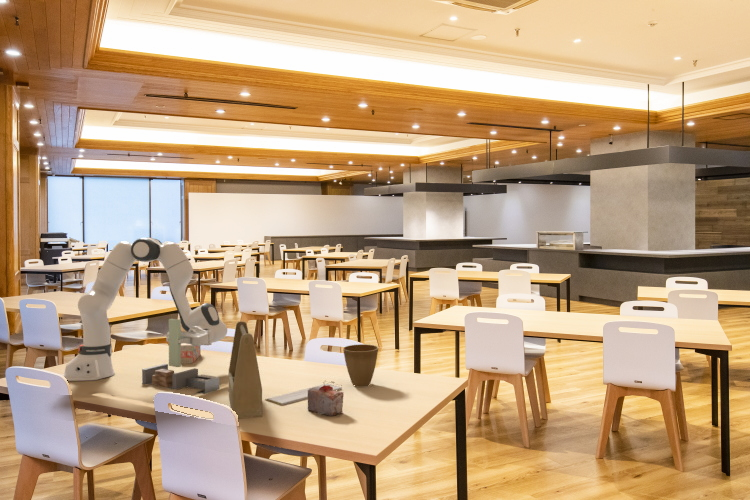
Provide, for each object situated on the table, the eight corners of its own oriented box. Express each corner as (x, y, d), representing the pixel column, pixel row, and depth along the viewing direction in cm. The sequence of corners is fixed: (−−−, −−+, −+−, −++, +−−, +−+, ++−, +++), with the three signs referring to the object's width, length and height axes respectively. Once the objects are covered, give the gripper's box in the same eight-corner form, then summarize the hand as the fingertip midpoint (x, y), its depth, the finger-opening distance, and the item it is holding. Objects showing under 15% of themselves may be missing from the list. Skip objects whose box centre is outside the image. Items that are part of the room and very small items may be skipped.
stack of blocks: (193, 363, 297) (192, 339, 296) (180, 364, 296) (179, 339, 296) (200, 354, 318) (200, 331, 318) (188, 355, 317) (188, 331, 317)
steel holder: (219, 389, 249) (219, 377, 249) (205, 393, 242) (205, 381, 242) (201, 386, 254) (201, 374, 254) (187, 390, 247) (187, 378, 247)
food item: (346, 413, 217) (346, 386, 217) (332, 418, 211) (332, 391, 210) (318, 406, 225) (318, 380, 225) (304, 411, 219) (304, 385, 218)
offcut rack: (198, 386, 253) (198, 368, 253) (176, 393, 243) (175, 374, 243) (164, 380, 263) (164, 363, 263) (142, 386, 253) (142, 369, 252)
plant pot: (357, 378, 267) (357, 342, 266) (384, 383, 258) (384, 346, 257) (336, 385, 254) (336, 348, 254) (364, 391, 246) (364, 352, 245)
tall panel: (180, 366, 255) (180, 319, 254) (178, 367, 253) (177, 320, 253) (171, 365, 257) (171, 318, 257) (168, 365, 256) (168, 319, 255)
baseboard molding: (262, 400, 235) (281, 407, 226) (262, 393, 234) (281, 399, 226) (322, 385, 257) (341, 391, 249) (322, 378, 257) (341, 384, 249)
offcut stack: (176, 385, 250) (176, 370, 250) (167, 387, 246) (166, 373, 246) (161, 382, 254) (160, 368, 254) (151, 384, 250) (151, 370, 250)
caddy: (262, 416, 213) (262, 332, 212) (232, 419, 210) (231, 334, 209) (255, 394, 241) (254, 320, 240) (227, 397, 238) (227, 321, 237)
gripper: (180, 326, 271) (156, 331, 259) (214, 330, 261) (190, 335, 249) (180, 340, 271) (156, 345, 259) (214, 345, 261) (190, 350, 249)
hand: (173, 340), depth 254 cm, fingers closed on tall panel, 5 cm apart
